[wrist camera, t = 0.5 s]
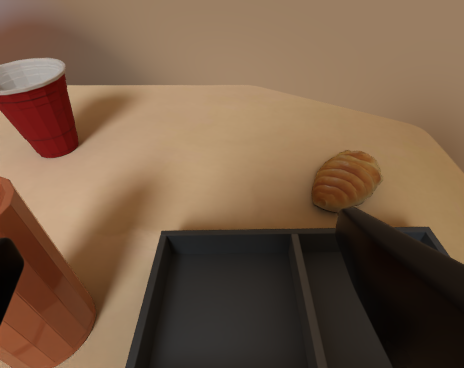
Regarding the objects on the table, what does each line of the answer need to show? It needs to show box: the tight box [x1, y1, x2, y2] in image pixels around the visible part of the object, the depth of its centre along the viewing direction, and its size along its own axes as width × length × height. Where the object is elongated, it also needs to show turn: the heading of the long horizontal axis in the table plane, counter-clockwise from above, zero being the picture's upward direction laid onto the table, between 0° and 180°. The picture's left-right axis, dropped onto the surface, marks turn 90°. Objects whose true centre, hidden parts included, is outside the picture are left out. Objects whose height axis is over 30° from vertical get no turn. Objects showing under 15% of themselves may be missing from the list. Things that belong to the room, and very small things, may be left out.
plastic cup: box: [0, 58, 78, 158], centre depth 40 cm, size 11×11×12 cm
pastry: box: [312, 150, 383, 212], centre depth 32 cm, size 9×7×4 cm
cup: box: [0, 177, 96, 368], centre depth 18 cm, size 6×6×13 cm
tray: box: [125, 227, 451, 368], centre depth 21 cm, size 14×24×3 cm, turn 89°
